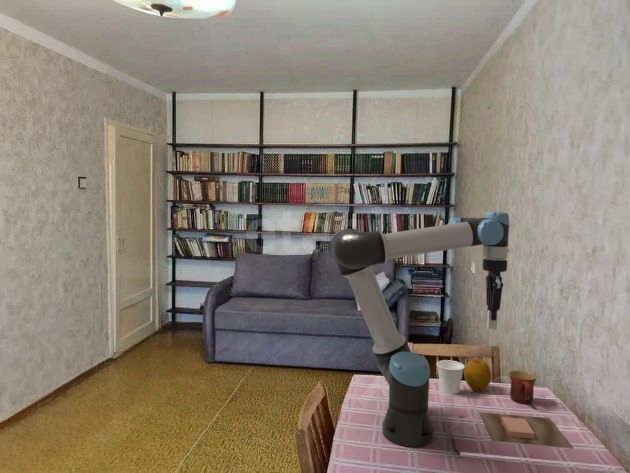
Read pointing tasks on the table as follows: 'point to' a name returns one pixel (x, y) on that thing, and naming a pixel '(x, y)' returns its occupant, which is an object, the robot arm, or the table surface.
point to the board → (541, 427)
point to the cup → (450, 376)
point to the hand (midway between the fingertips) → (492, 328)
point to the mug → (522, 387)
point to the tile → (517, 427)
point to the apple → (477, 374)
